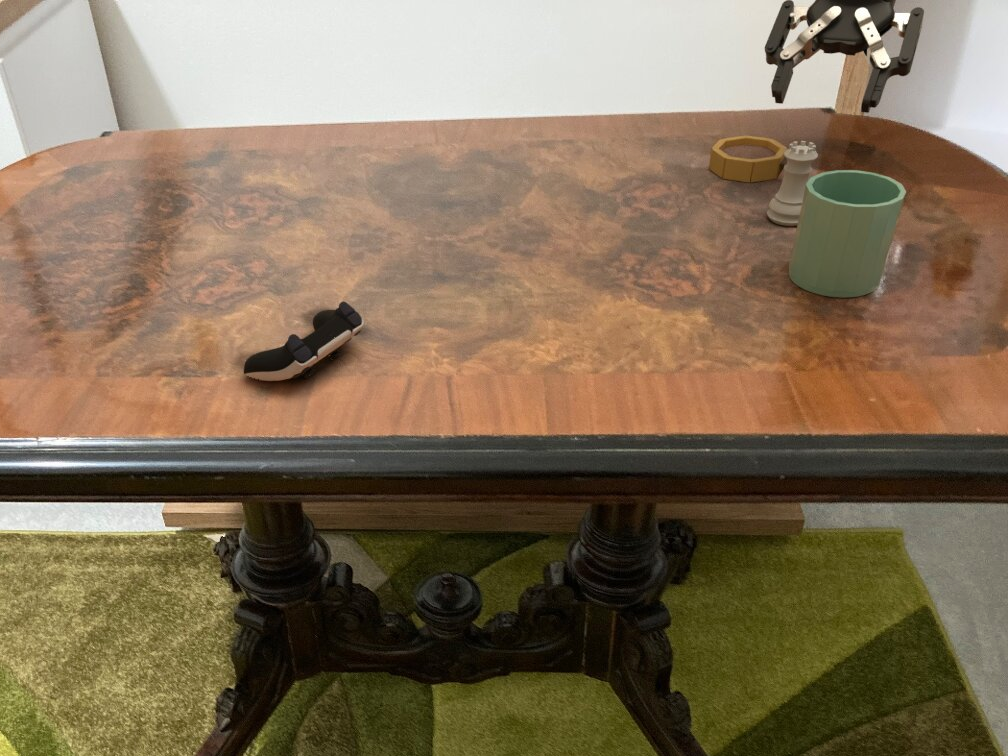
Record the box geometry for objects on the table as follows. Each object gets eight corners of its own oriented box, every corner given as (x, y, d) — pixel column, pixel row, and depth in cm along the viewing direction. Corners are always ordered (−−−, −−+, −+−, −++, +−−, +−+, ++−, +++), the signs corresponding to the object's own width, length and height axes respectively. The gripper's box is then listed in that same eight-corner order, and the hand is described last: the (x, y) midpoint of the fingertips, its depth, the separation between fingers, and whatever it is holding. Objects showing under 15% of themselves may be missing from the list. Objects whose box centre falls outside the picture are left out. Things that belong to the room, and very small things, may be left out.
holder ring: (789, 161, 111) (793, 141, 109) (771, 186, 106) (774, 165, 104) (722, 152, 114) (725, 132, 113) (702, 175, 109) (705, 155, 108)
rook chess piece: (779, 230, 97) (793, 155, 92) (758, 213, 100) (771, 140, 95) (818, 223, 98) (835, 149, 93) (796, 207, 101) (811, 135, 96)
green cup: (887, 267, 89) (913, 177, 84) (870, 305, 84) (896, 212, 79) (800, 251, 93) (818, 164, 87) (778, 286, 88) (796, 197, 82)
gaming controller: (266, 408, 81) (299, 380, 76) (235, 368, 81) (266, 336, 75) (345, 352, 88) (382, 322, 82) (317, 314, 87) (352, 281, 82)
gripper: (942, -16, 96) (893, 130, 95) (799, -23, 102) (753, 114, 102) (949, -64, 89) (897, 93, 89) (797, -68, 95) (747, 78, 95)
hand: (820, 104), depth 95 cm, fingers open, 8 cm apart
